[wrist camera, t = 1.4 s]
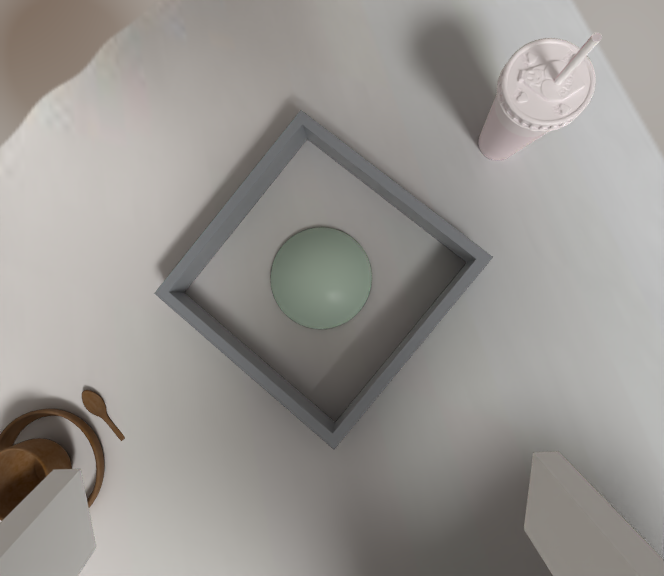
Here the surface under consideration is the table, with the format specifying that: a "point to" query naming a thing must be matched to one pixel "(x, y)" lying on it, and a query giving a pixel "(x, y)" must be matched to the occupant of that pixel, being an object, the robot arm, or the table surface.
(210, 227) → the grey square frame
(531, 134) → the smoothie
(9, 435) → the place setting
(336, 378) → the table surface
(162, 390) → the table surface
